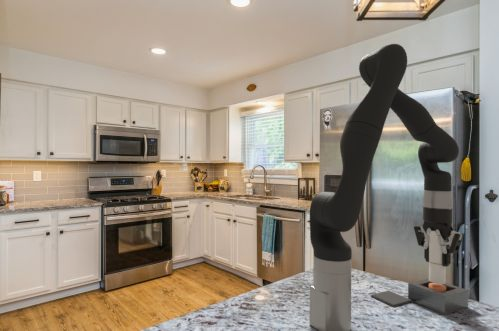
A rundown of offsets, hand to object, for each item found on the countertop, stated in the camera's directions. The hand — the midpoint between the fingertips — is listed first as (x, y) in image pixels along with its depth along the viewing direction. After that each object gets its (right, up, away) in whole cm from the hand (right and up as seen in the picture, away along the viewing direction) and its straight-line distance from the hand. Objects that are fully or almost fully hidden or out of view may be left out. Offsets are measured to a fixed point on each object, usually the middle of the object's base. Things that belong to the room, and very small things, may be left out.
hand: (437, 263), depth 92 cm
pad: (-13, -12, +2) cm, 17 cm away
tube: (0, -5, 0) cm, 5 cm away
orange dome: (0, -8, 0) cm, 8 cm away
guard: (0, -12, 0) cm, 12 cm away
